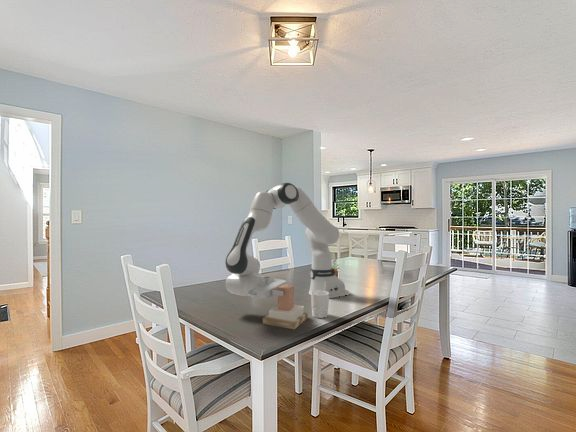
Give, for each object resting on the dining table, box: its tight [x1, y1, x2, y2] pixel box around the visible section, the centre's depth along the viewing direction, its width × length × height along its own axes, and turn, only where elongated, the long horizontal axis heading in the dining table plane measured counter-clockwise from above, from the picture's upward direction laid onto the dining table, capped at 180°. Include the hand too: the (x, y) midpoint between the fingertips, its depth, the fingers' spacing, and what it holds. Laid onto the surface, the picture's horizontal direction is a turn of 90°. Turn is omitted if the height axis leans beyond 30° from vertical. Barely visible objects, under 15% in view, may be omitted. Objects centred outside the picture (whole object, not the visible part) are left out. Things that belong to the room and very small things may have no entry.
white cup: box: [310, 291, 330, 319], centre depth 131 cm, size 8×8×10 cm
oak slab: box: [262, 311, 309, 330], centre depth 125 cm, size 14×14×3 cm
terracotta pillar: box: [277, 284, 295, 311], centre depth 125 cm, size 5×5×9 cm
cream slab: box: [268, 304, 305, 321], centre depth 125 cm, size 11×11×3 cm
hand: (288, 291), depth 124 cm, fingers open, 7 cm apart
